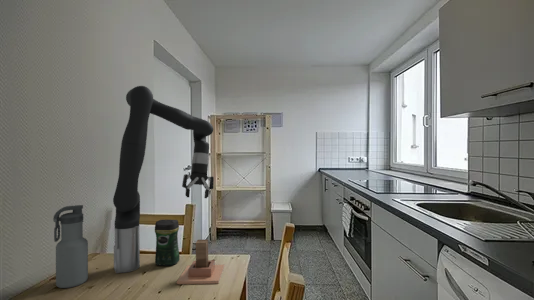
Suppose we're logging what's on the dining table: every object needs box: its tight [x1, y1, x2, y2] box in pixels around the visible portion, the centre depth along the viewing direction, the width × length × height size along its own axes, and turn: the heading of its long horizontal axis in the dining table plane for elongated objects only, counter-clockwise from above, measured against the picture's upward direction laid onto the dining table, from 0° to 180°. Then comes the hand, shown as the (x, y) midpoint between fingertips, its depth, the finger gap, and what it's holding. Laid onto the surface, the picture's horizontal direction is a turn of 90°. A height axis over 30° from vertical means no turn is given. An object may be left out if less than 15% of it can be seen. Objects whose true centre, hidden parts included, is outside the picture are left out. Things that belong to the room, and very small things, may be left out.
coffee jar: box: [154, 219, 180, 266], centre depth 123 cm, size 10×8×19 cm
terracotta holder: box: [176, 259, 225, 285], centre depth 110 cm, size 15×15×4 cm
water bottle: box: [52, 204, 89, 289], centre depth 105 cm, size 10×10×28 cm
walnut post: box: [195, 238, 209, 268], centre depth 110 cm, size 4×4×12 cm
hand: (196, 197), depth 134 cm, fingers open, 8 cm apart
